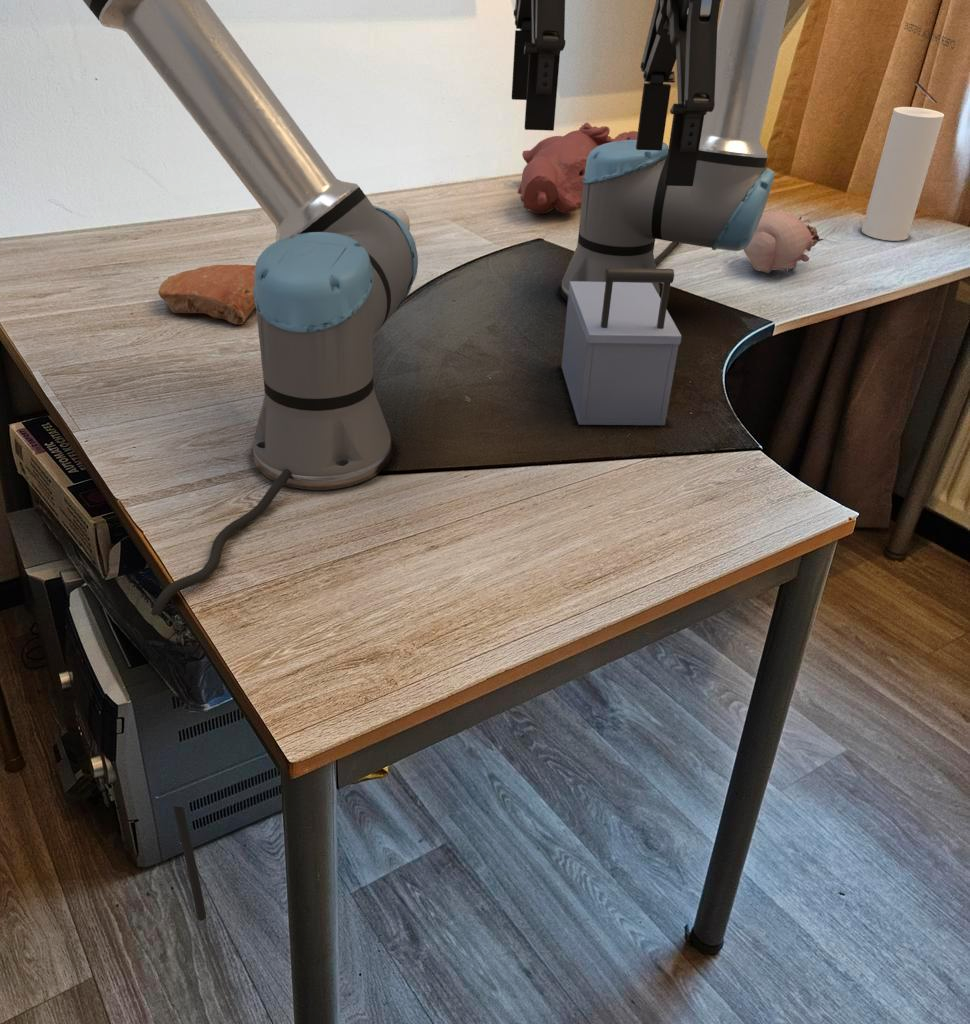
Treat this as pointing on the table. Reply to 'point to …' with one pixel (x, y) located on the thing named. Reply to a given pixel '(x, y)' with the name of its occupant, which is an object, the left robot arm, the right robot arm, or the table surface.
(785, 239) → the toy
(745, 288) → the table surface
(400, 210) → the electric motor
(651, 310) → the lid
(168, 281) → the ceramic shard
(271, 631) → the table surface
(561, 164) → the fabric sculpture
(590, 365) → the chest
